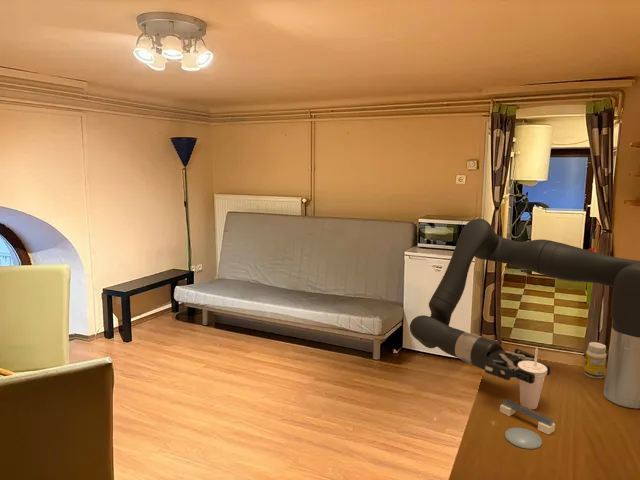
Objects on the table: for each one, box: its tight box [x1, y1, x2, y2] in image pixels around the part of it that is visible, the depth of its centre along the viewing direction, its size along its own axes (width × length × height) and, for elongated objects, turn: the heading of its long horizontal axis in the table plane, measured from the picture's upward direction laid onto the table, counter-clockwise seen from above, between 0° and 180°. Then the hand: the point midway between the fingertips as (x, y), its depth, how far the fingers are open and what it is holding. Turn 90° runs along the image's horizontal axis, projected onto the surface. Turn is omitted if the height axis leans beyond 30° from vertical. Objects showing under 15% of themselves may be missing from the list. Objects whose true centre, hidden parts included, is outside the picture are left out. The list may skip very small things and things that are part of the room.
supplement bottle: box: [583, 341, 607, 379], centre depth 130 cm, size 5×5×8 cm
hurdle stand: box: [499, 403, 556, 435], centre depth 108 cm, size 11×2×2 cm, turn 38°
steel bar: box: [502, 398, 554, 426], centre depth 108 cm, size 11×1×1 cm, turn 38°
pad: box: [504, 427, 543, 450], centre depth 101 cm, size 7×7×1 cm
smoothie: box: [517, 347, 548, 410], centre depth 114 cm, size 6×6×14 cm
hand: (541, 375), depth 111 cm, fingers closed on smoothie, 6 cm apart
